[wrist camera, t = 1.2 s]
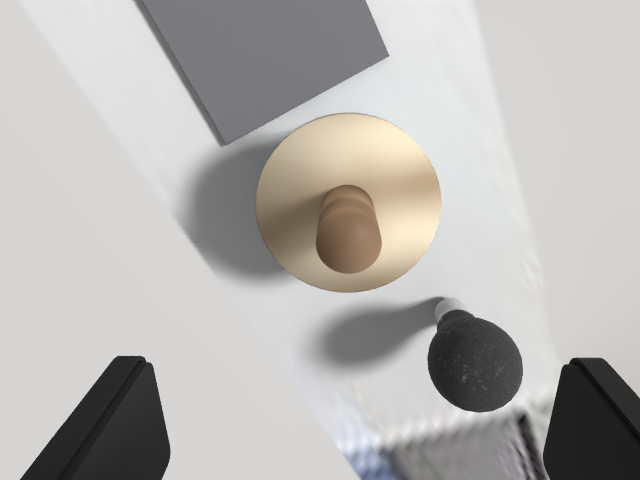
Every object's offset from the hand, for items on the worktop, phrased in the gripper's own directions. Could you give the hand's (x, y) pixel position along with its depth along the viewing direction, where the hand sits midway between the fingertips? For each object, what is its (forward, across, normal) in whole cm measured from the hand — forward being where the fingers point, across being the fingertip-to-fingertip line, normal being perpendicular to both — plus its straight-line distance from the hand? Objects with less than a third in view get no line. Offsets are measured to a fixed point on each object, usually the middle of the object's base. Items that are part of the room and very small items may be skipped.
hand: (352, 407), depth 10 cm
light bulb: (+22, -8, +10) cm, 26 cm away
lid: (+16, 0, 0) cm, 17 cm away
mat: (+22, +5, -11) cm, 25 cm away
